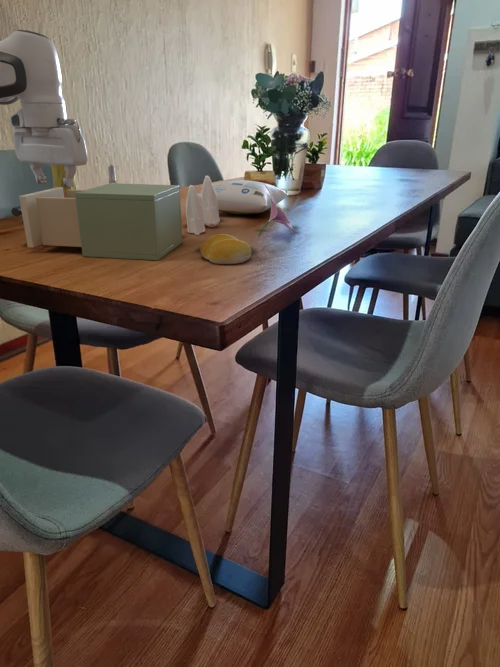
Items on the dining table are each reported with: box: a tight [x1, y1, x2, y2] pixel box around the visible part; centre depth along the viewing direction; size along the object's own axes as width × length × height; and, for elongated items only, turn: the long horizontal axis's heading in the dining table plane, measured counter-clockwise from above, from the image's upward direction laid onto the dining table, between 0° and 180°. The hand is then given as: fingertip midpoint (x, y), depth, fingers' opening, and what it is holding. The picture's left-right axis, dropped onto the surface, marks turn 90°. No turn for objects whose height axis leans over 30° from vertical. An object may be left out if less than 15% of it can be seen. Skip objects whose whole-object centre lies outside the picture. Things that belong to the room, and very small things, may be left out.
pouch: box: [197, 179, 289, 215], centre depth 129 cm, size 8×19×20 cm
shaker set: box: [184, 175, 221, 236], centre depth 109 cm, size 12×4×11 cm, turn 156°
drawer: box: [11, 187, 84, 248], centre depth 94 cm, size 17×13×9 cm
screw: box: [107, 164, 118, 184], centre depth 112 cm, size 13×5×5 cm
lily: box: [257, 184, 297, 239], centre depth 103 cm, size 12×12×10 cm
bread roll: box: [199, 233, 252, 265], centre depth 87 cm, size 8×9×4 cm
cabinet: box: [75, 182, 183, 261], centre depth 91 cm, size 14×14×11 cm
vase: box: [50, 164, 78, 196], centre depth 128 cm, size 6×6×14 cm
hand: (55, 185), depth 114 cm, fingers open, 8 cm apart
